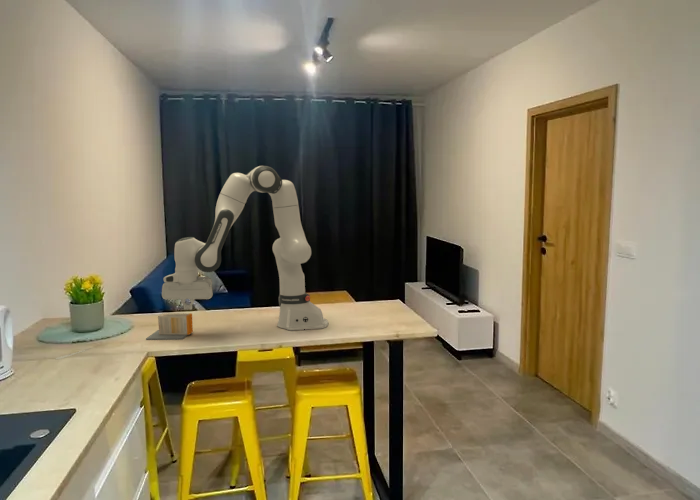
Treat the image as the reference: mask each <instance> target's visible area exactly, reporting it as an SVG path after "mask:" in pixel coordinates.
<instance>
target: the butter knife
mask: <svg viewBox="0 0 700 500" xmlns="http://www.w3.org/2000/svg"><path fill="white" fill-rule="evenodd" d="M84 352H86V350H85V349H84V350H80V351H77V352H74V353H73V352H72V353H70V354H65V355H62V356H58V357H55V360H62V359H65V358H69V357H71V356H73V355H77V354H80V353H84Z"/></svg>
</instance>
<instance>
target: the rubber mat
mask: <svg viewBox="0 0 700 500" xmlns="http://www.w3.org/2000/svg"><path fill="white" fill-rule="evenodd" d="M187 337H188V335H159V329H157V330H156V331H155V332H153V333H152V334H151V335H149V336H148V337H146V338H145V341H158V340H159V341H165V340H166V341H167V340H168V341H170V340H172V341H173V340H178V341H179V340H182V341H183V340H184V339H185V338H187Z"/></svg>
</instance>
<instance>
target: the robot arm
mask: <svg viewBox="0 0 700 500" xmlns="http://www.w3.org/2000/svg"><path fill="white" fill-rule="evenodd" d="M253 192H256V193H262V194H263V193H267V194H268V195H269V196H270V198H271V201H272V202H271V203H272V211H273V218H274V219H273V220H274V225H275V228H276V229H277V232H278V235H279V238H277V239H275V240H274V242H273V244H272V249H271V250H272V253H273V255H274V257H275V263H276V266H277V268H276V269H277V271H278V277H279V278H278V279H279V280H278V281H279V293H278V306H279V315H278V321H277V325H276V327H278V328H280V329H284V330H287V331H302V330H303V331H304V329H305V330H321V329H325V328H327V327H328V326H329V320H328V319H326V318H324V313H323V311H322V309H321V308H320V307H318V305H315V304H314V303H313V302H311V295H310V293H307V292H306V287H305V286H306V282H305V281H306V280H305V273H304V272H303V268H302V265H301V264H305V263H307V262H308V261H309V260H310V258H311V256H312V248H311V246H310V244H309V243H308V240H307V238H306V234H305V231H304V229H303V226H302V221H301V214H300V207H299V200H298V195H297V190H296V188H295V185H294V183H293V182H292V181H291V180H288V179H282V178H281V177H280V175H279V174H278V172H277V171H276V170H275V169H274V168H273V167H271V166H268V165H259V166H256V167H254V168H253V169H251V170H249V172H247V173H245V174H244V173H241V172H233V173H231V174H230V175H229V177H228V178H227V179H226V181H225V183H224V185H223V186H222V188H221V191H220V193H219V195H218V198H217V201H216V204H215V205H216V206H215V212H214V213H215V217H214V223H213V226H212V229H211V231H210V234H209V236H208V238H207V240H206V242H203V241H200V240H198V239H196V238H195V237H194V236H188V237H187V236H186V237H182V238H179V239H178V240H176V242H175V244H174V253H173V254H174V261H175V268H174V272H173V273H170V274H168V275H166V276H164V277H163V282H164V283H163V284H162V286H161V297H162V298H163V299H164V300H180V303H181V304H182V306H183V310H184V311H191V310H193V304H195V303H194V302H195V300H209V299H211V298H212V297H213V295H214V294H213V288H212V286H213V280H212V278H211V277H209V276H199V274H198V272H199V271H198V270H200V271H201V272H203V273H213V272H215V271H216V270H218V269H219V268H220V266H221V263H222V249H223V246H224V244H225V242H226V240H227V239H226V238H227V237H228V234H229V231H230V229H231V228H232V226H233V225H234V223H235V222H236V221H237V219H238V218H239V216H240V215H241V214H242V212H243V210H244V208H245V204H246V203H247V202H248V201H247V200H248V198H249V197H250V195H251V194H252V193H253ZM187 300H189V302H190V303H189V304H187V303H186V301H187Z"/></svg>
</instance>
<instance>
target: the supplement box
mask: <svg viewBox="0 0 700 500" xmlns="http://www.w3.org/2000/svg"><path fill="white" fill-rule="evenodd" d="M157 321H158V330H159V335H187V336H190V334H192V333H194V329H193V328H194V327H193V313H191V312H190V313H187V312H186V313H179V312H178V313H171V312H169V313H167V312H166V313H165V312H164V313H163V312H162V313H160V314H159V315H157Z"/></svg>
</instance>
